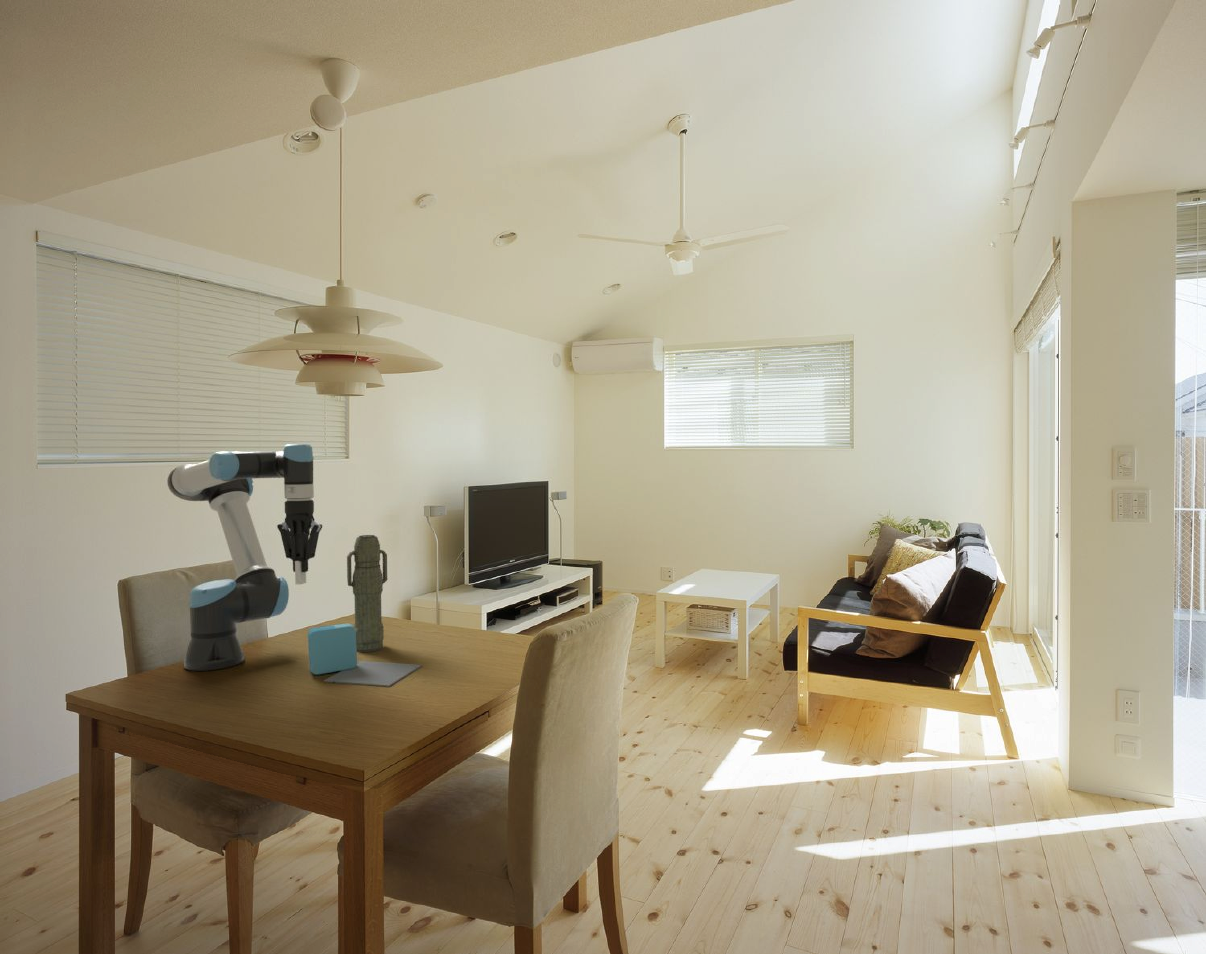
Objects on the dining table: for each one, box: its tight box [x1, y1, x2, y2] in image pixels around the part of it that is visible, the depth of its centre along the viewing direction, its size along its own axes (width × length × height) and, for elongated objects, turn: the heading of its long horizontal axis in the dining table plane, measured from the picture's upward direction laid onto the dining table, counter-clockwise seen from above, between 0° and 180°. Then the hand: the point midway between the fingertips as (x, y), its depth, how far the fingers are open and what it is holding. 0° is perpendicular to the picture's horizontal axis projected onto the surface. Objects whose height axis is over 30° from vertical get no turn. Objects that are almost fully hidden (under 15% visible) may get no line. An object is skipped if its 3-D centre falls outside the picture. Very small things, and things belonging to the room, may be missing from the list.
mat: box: [323, 660, 423, 688], centre depth 195 cm, size 19×18×1 cm
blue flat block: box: [307, 623, 358, 676], centre depth 198 cm, size 12×4×12 cm, turn 118°
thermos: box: [346, 534, 388, 653], centre depth 220 cm, size 9×12×35 cm
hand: (300, 583), depth 199 cm, fingers closed
